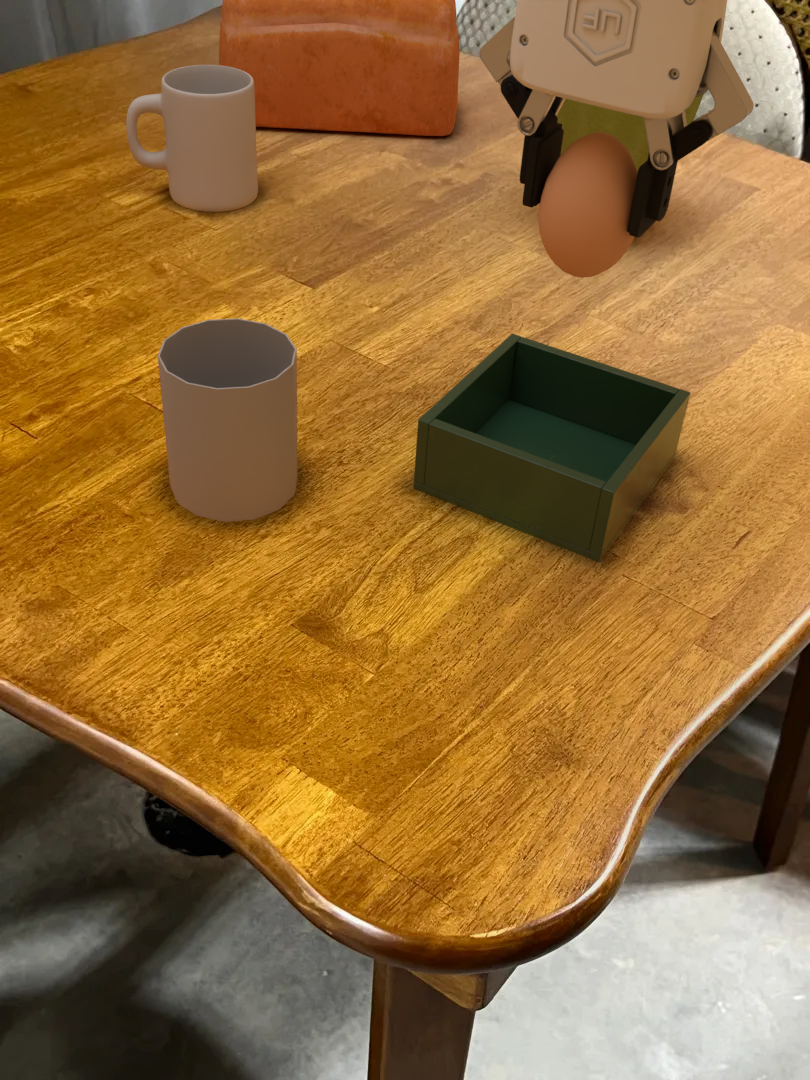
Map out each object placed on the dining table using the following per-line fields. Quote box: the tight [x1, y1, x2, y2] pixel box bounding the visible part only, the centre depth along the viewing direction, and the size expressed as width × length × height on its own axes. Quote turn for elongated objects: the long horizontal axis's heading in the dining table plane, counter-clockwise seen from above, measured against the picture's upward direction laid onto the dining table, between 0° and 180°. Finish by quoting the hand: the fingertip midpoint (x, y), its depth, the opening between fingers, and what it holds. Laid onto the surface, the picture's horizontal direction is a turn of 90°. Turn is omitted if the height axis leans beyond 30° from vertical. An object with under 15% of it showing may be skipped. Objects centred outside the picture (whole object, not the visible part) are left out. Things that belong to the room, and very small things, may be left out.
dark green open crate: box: [412, 333, 691, 563], centre depth 78 cm, size 14×14×6 cm
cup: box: [157, 317, 299, 523], centre depth 74 cm, size 8×8×10 cm
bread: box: [218, 0, 461, 137], centre depth 126 cm, size 14×26×16 cm, turn 90°
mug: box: [125, 64, 259, 213], centre depth 109 cm, size 12×8×11 cm
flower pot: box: [557, 94, 705, 172], centre depth 106 cm, size 15×15×16 cm
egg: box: [537, 132, 638, 279], centre depth 66 cm, size 6×6×8 cm
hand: (589, 210), depth 66 cm, fingers closed on egg, 5 cm apart
